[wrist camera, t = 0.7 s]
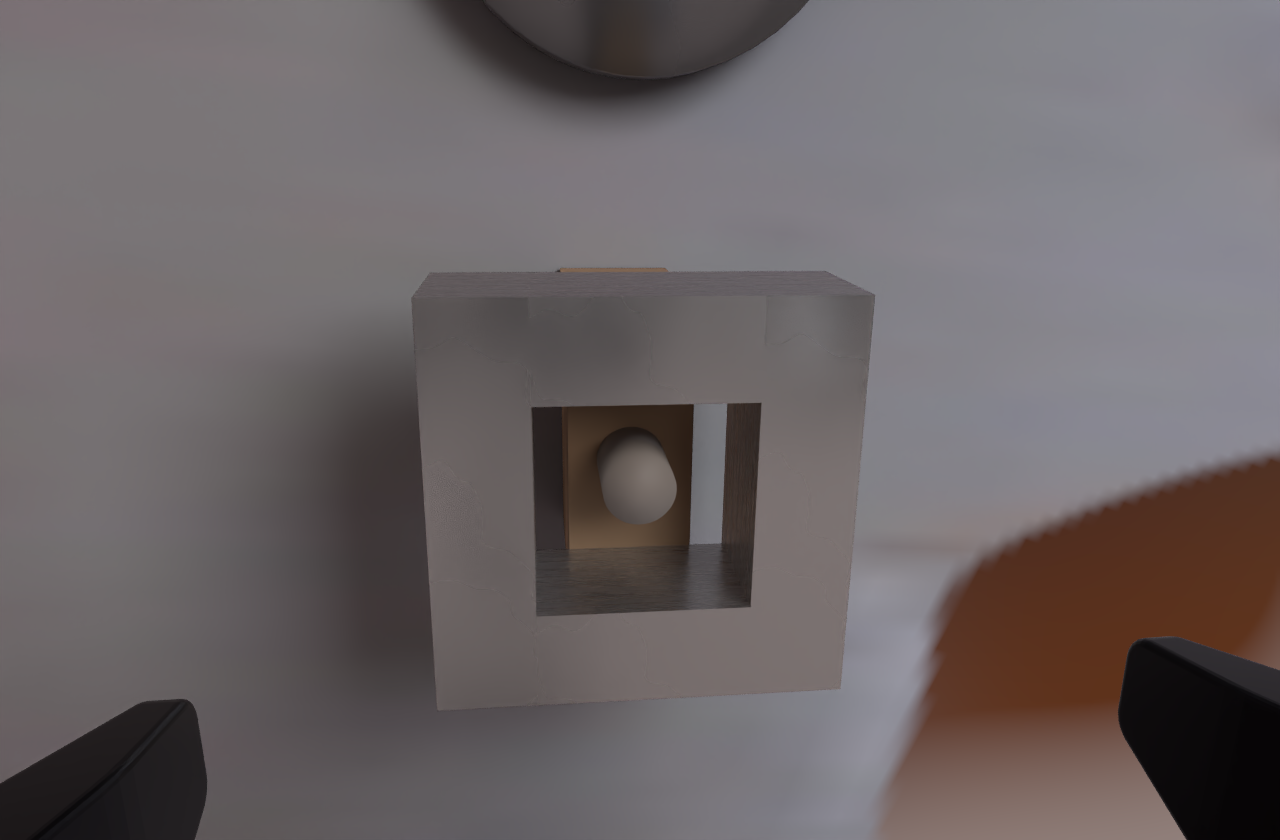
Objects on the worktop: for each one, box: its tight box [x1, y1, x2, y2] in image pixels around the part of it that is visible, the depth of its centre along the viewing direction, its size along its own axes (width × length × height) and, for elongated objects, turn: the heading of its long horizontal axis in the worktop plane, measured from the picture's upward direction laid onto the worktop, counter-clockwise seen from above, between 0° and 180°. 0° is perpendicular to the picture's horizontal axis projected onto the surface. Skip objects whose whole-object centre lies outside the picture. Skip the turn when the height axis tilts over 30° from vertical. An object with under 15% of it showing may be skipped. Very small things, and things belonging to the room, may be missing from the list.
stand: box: [560, 268, 694, 549], centre depth 17 cm, size 6×2×6 cm, turn 179°
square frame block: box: [411, 271, 875, 711], centre depth 15 cm, size 7×7×2 cm
